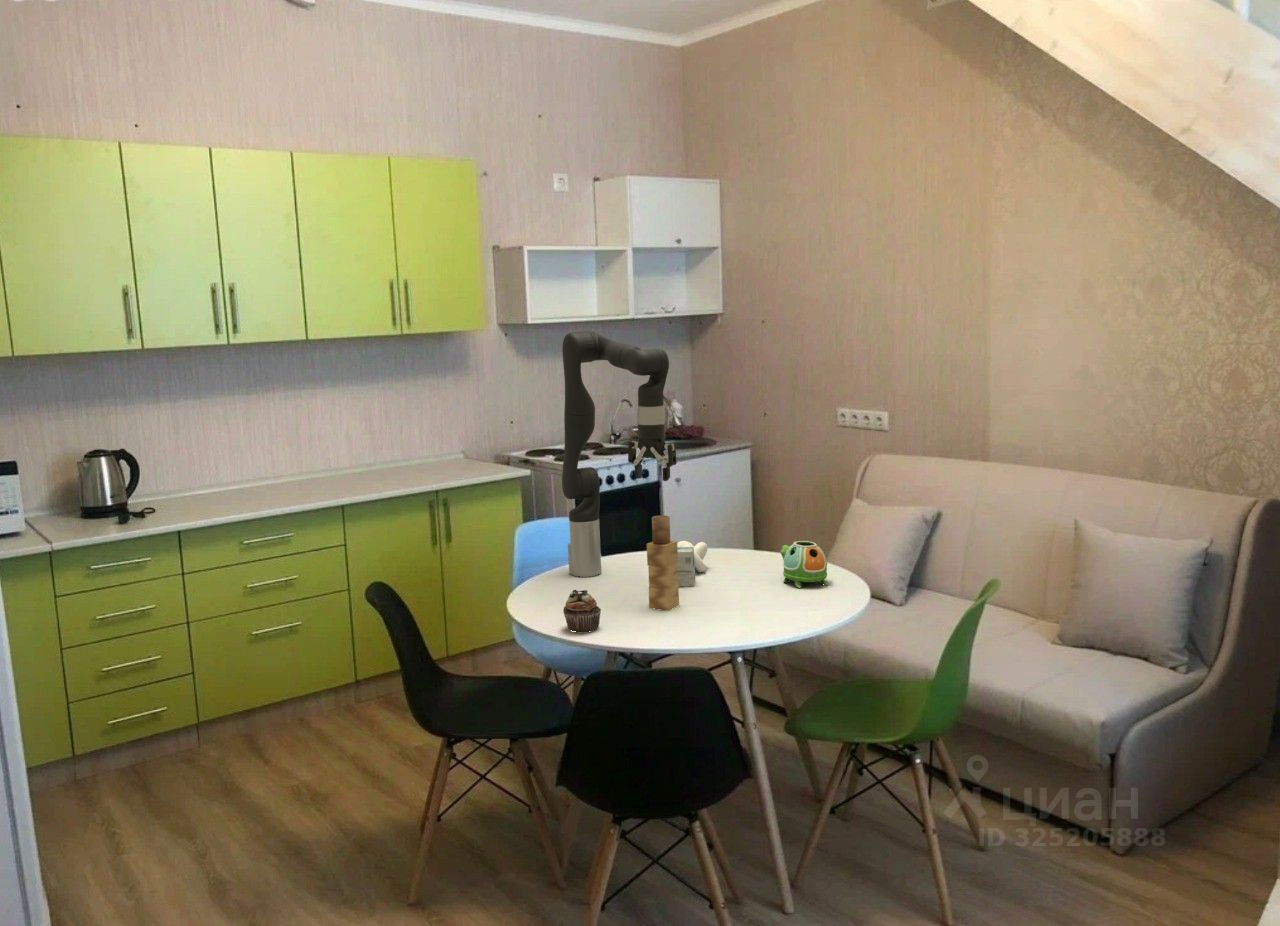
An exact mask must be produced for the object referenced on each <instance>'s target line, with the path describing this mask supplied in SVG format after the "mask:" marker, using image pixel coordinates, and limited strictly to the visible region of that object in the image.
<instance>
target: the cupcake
mask: <svg viewBox="0 0 1280 926" xmlns="http://www.w3.org/2000/svg"><path fill="white" fill-rule="evenodd" d="M597 605H598V603H597V601H596V599H595V598H594V597H593V596H592V595H591V594H590V593H589V592H588V590H586V589H583V590H577V589H573V590H572V592H570V594H569V596H568V597H567V599H566V602H565V606H564V607H563V616H564V618H565V620H566V624H567V630H568V629H570V630H572V631H576V632H588V633H590V632H589V631H593V630H595V631H597V630H598V629H599V626H600V619H601V612H602V608H600V607H599V606H597ZM597 628H598V629H597ZM596 629H597V630H596ZM593 632H594V631H593Z"/></svg>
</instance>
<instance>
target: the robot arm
mask: <svg viewBox="0 0 1280 926" xmlns="http://www.w3.org/2000/svg"><path fill="white" fill-rule="evenodd" d="M561 349H562V350H561V351H562V364H563V365H562V366H563V376H564V410H563V411H564V417H563V418H564V419H563V420H564V421H563V423H564V448H563V449H564V451H563V452H564V453H563V462H562V463H563V464H562V470H561V471H562V474H561V475H562V476H561V488H562V493H563V495H564V497H565V498H566V499H567V500H577V499H583V501H582V502H581V503H580V504H578V505H577V506H576V507H573V508H572V509H570V510H569V512H568V520H569V521H568V523H569V525H568V526H569V541H570V543H568V544H567V554H568V555H567V556H568V574H569V575H572V576H574V577H578V576H580V577H579V578H581V577H582V578H588V577H589V576H590V577H595V575H596V576H598V574H599V575H601V574H602V557H601V536H600V535H601V534H600V517H599V516H600V508H601V507H600V505H601V503H600V490H601V488H600V487H601V486H600V485H601V484H600V476H599V474H598V471H597V469H596V468H594V467H591V466H589V467H586V466H585V467H579V468H578V465H579V461H580V455H582V454H581V453H582V451H583V449H584V447H585V446H586V444H587V443H588V442H589V440H590V438H591V436H592V434H593V433H594V431H595V424H596V406H595V402H594V401H593V399H592V398H593V397H591V394H590V393H589V392H588V389H587V388H586V386H585V384H584V381H583V377H582V369H581V368H582V364H585V363H592V362H595V361H596V362H597V361H607V362H608V363H609V364H610V365H611V366H613V367H616V368H618V369H623V370H626V371H629V372H631V374H634V375H636V376H645V377H646V376H649V377H648V381H647V382H645V383H643V384H640V386H639V387H638V388H637V401H638V402H637V405H638V406H637V408H638V409H637V438H638V441H636V440H631V441H629V442H628V445H627V446H628V449H627V450H628V451H627V452H628V453H627V462H628V463H631V464H633V466H634V476H635V478H636V479H638V480H639V479H642V478H643V464H642V463H643V462H644V460H645V459H653V460H655V459H657V461H658V462H659V463H660V464H661V465H662V481H663V482H667V481H669V479H671V467H672V466H676V465H677V464H678V463H677V451H676V450H677V448H676V444H675V443H674V442H673V443H669V444H668V443H666V442H665V439H666V415H665V414H666V412H665V406H664V400H665V399H664V389H665V386H666V381H667V377H668V373H669V369H670V360H669V356H668V354H667V353H666V351H665V350H664V349H662V348H651V349H641V348H640V347H638V346H637V345H634V344H633V345H632V344H627V343H624V342H623V343H622V342H619V341H616V340H615V341H614V340H612V339H610V338H607V337H606V336H604V335H602V334H599V333H597V332H595V331H591V330H586V331H585V330H584V331H583V330H582V331H572V332H568V333H566V335H565V336H564V337H563V341H562V348H561ZM637 449H639V453H638V454H637ZM665 451H666V452H667V454H666V452H665ZM600 573H601V574H600Z"/></svg>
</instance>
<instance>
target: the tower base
mask: <svg viewBox="0 0 1280 926" xmlns="http://www.w3.org/2000/svg"><path fill="white" fill-rule="evenodd" d="M679 588H680V587H679V585H678V584H676V585H675V586H674V587H672V588H671V589H659V588H649V587H648V605H649V607H648V608H649V609H650V608H655V609H654V610H657V609H661V610H660V611H665V610H668V611H667V612H669V611H671V610H673V609H675V608H677V607H679V606H680V594H679V593H680V592H679V590H680V589H679ZM678 605H679V606H678ZM676 606H677V607H676ZM674 607H675V608H674ZM672 608H673V609H672ZM670 609H671V610H670Z"/></svg>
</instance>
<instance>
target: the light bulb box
mask: <svg viewBox="0 0 1280 926" xmlns="http://www.w3.org/2000/svg"><path fill="white" fill-rule="evenodd" d="M693 546H694V545H693ZM693 546H691V547H677V548H678V563H677V579H678V585H679V586H685V587H695V583H696V568H695V563H694V547H695V546H694V547H693Z"/></svg>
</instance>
